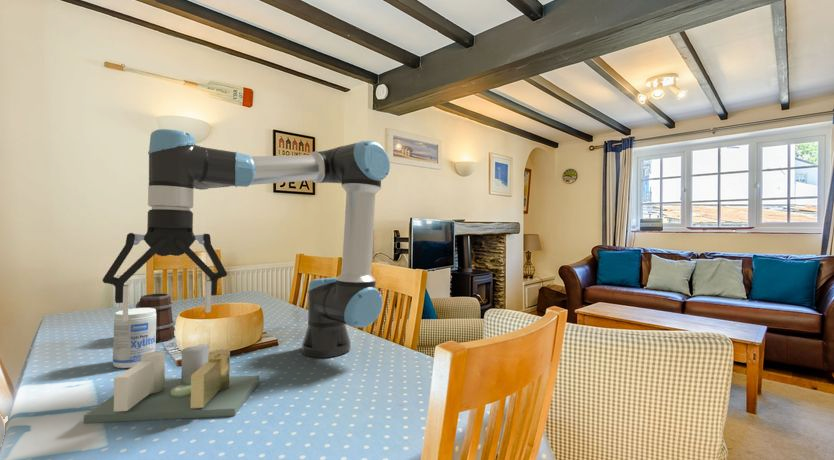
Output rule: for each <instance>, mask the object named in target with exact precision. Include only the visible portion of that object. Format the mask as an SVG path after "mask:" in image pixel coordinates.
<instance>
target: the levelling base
mask: <svg viewBox="0 0 834 460" xmlns="http://www.w3.org/2000/svg"><path fill="white" fill-rule="evenodd" d="M209 353H210V344H198V345H195V346H189V347H185V348H183V349H181V373H180V374H181V377H179V378H177V377H176V378H165V388H164V389H163V390H162V391H160V392H157V393H153V394H149V395H147V396H146V397H145V398H143V399H142V400H141V401H139V402H138V403H137V404H135V405H134V406H133V407H132V408H130V409H129V410H128V411H114V395H113V396H111V397H110V398H108V399H106V400H105V401H104V402H102V403H100V404H99V405H97V406H96V407H95V408H93V409H91V410H90V411H88V412H87V413H85V414H83V424H89V423H90V424H92V423H93V424H95V423H113V422H116V423H117V422H133V421H154V420H155V421H157V420H174V419H175V420H176V419H188V418H189V419H195V418H215V417H216V418H217V417H234V416H236V415H237V414H238V412H239V411H240V410H241V408H242V407H243V405H244V404H245V403H246V401H247V400H248V399H249V397H250V395H251V394H252V392H254V390H255V389H256V388H257V387H256V386H258V384H259V382H260V375H239V376H238V375H236V376H235V375H233V376H232V375H231V376H230V382H229V387H228V388H227V389H225V390H222V391H218V392H217V393H216V394H215V395H214V396H213V397H212V399H211V400H210V401H209V402H208V403H207V404H206V405H205V406H204V407H201V408H191V375H192V374H193V373H194V372H195V371H197V370H198V369H199V368H200V367H202V366H203V365H204V364H205V363H206V362H208V354H209Z"/></svg>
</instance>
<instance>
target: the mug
mask: <svg viewBox="0 0 834 460" xmlns="http://www.w3.org/2000/svg"><path fill="white" fill-rule="evenodd" d="M172 307H174V302H172V299H171V296H170V294H168V293H149V294H144V295H142V296H140V299H139V301H138V302H136V305H135V307H134V308H154V309H156V344H158V343H159V344H160V343H162V342H167V341H170V340H172V339H174V338H175V337H174V330H175V331H176V328H175V325H176V321H175V320H174V319H173V311H172Z"/></svg>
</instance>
